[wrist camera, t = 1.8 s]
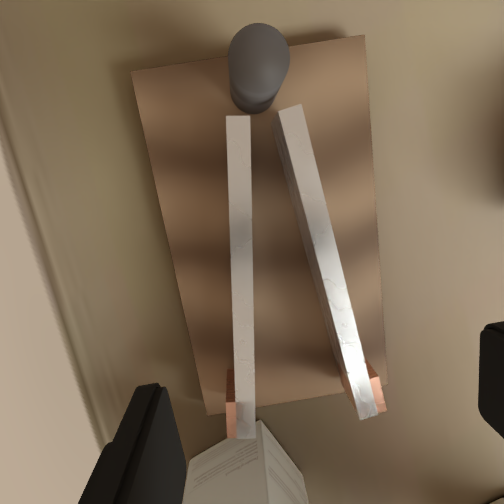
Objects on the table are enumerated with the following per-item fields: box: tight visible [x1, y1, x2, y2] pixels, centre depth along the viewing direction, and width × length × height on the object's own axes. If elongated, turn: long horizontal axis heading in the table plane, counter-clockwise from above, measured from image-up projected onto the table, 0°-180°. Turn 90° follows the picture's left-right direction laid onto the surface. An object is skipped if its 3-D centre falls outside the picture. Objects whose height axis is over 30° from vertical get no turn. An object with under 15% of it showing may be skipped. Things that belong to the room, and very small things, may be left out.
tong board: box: [130, 23, 388, 416], centre depth 20 cm, size 24×14×6 cm, turn 9°
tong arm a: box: [271, 104, 387, 420], centre depth 19 cm, size 19×2×4 cm, turn 17°
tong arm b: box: [226, 116, 256, 439], centre depth 19 cm, size 19×2×4 cm, turn 1°
